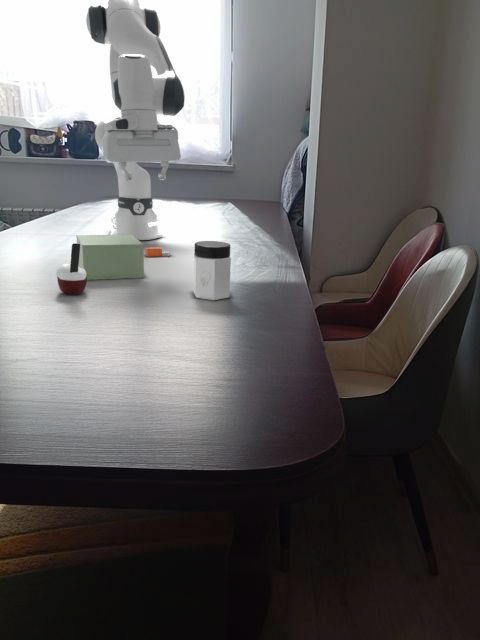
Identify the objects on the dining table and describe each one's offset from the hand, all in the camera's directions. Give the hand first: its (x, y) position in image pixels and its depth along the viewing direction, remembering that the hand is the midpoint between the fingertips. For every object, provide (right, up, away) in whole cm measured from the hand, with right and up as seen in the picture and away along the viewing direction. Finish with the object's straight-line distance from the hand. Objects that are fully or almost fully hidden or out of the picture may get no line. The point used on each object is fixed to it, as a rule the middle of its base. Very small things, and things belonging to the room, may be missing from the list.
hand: (145, 180), depth 137 cm
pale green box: (-9, -25, -1) cm, 26 cm away
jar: (+19, -33, -17) cm, 41 cm away
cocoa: (-11, -33, -22) cm, 41 cm away
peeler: (-2, -16, +22) cm, 27 cm away
